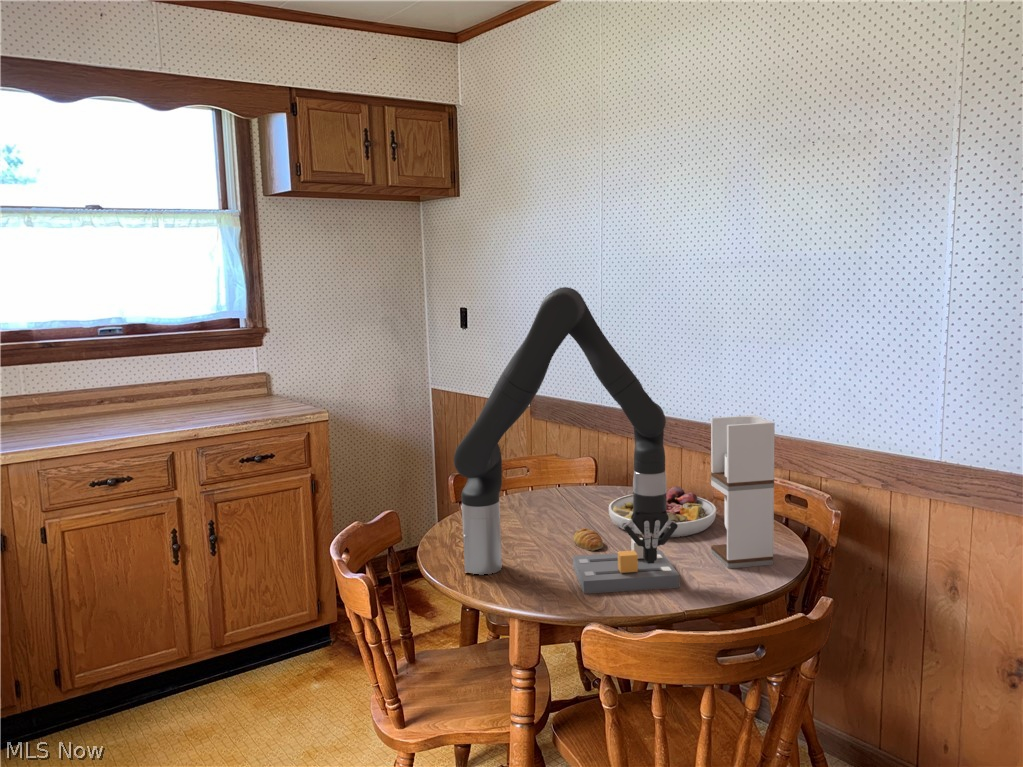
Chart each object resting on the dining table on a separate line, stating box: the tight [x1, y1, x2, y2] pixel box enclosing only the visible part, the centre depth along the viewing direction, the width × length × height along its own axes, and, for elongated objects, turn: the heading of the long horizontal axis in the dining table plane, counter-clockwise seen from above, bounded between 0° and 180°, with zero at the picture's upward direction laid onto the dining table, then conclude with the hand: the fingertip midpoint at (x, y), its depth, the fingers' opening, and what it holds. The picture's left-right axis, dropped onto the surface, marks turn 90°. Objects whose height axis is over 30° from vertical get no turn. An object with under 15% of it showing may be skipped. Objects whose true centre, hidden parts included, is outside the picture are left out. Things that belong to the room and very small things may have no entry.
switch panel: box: [572, 550, 681, 595], centre depth 187 cm, size 22×16×3 cm
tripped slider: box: [617, 550, 638, 573], centre depth 182 cm, size 4×3×4 cm
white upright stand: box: [710, 414, 776, 569], centre depth 193 cm, size 11×11×35 cm
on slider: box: [630, 537, 644, 559], centre depth 190 cm, size 4×3×4 cm
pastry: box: [573, 527, 604, 552], centre depth 209 cm, size 9×7×4 cm
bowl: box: [608, 485, 717, 538], centre depth 225 cm, size 30×30×8 cm
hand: (650, 562), depth 183 cm, fingers closed
